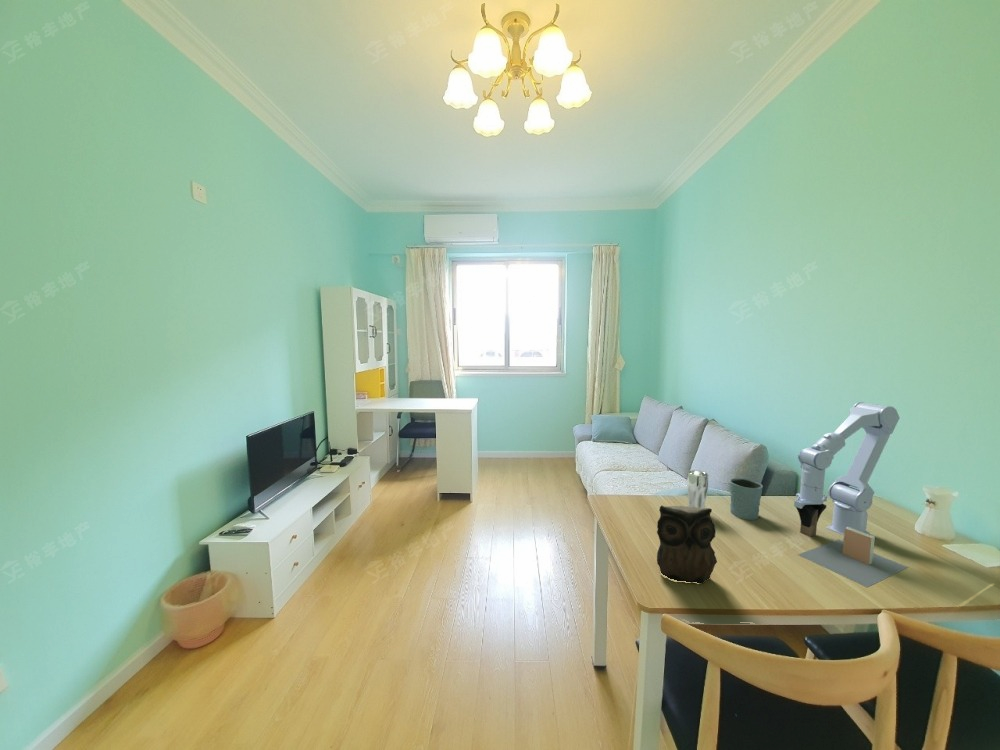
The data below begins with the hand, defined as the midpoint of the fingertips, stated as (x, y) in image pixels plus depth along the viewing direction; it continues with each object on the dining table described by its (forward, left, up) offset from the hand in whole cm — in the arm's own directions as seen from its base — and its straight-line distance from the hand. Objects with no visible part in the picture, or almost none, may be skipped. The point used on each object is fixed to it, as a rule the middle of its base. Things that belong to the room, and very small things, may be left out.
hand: (808, 524), depth 123 cm
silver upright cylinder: (+20, -26, -4) cm, 33 cm away
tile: (+3, +14, -3) cm, 15 cm away
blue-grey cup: (+5, -18, -4) cm, 19 cm away
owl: (+55, -2, -4) cm, 55 cm away
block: (0, 0, -3) cm, 3 cm away
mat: (+6, +14, -3) cm, 16 cm away
